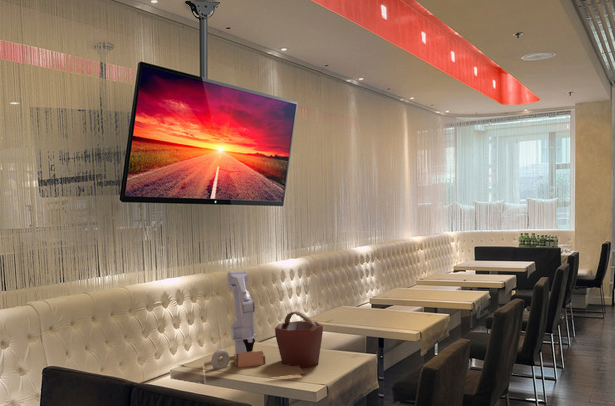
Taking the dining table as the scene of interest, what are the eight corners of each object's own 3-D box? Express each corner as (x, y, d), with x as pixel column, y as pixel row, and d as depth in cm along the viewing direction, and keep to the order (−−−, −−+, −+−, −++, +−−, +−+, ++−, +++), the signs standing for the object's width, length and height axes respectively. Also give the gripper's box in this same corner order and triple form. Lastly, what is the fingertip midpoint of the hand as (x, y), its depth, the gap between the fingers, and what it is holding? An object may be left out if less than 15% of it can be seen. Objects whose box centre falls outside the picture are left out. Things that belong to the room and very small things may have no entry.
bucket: (329, 368, 271) (326, 314, 271) (283, 374, 265) (280, 318, 265) (314, 356, 295) (311, 306, 295) (271, 361, 289) (268, 310, 289)
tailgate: (238, 367, 276) (237, 352, 276) (263, 364, 278) (262, 350, 278) (238, 368, 275) (237, 353, 275) (263, 365, 277) (263, 350, 277)
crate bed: (234, 364, 287) (233, 353, 287) (262, 361, 289) (262, 351, 290) (236, 369, 276) (235, 359, 276) (265, 366, 279) (265, 356, 279)
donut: (214, 373, 272) (213, 351, 272) (210, 372, 274) (209, 350, 274) (231, 368, 279) (230, 347, 279) (226, 367, 281) (225, 346, 281)
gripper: (258, 328, 275) (259, 357, 275) (254, 322, 289) (256, 350, 289) (243, 329, 274) (244, 358, 274) (240, 324, 288) (241, 351, 288)
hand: (249, 354), depth 281 cm, fingers closed
